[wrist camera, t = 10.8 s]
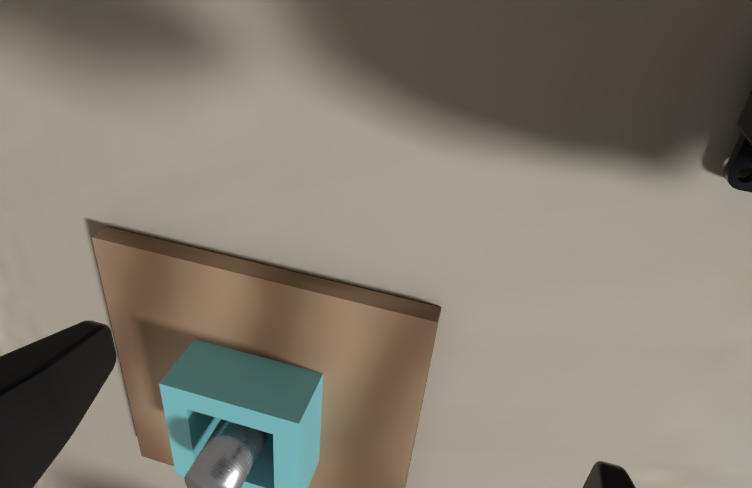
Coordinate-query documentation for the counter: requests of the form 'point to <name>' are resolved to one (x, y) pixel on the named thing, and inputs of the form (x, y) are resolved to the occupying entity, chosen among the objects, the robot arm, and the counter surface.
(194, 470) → the post
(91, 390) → the robot arm
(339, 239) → the counter surface
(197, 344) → the ring
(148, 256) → the base plate
